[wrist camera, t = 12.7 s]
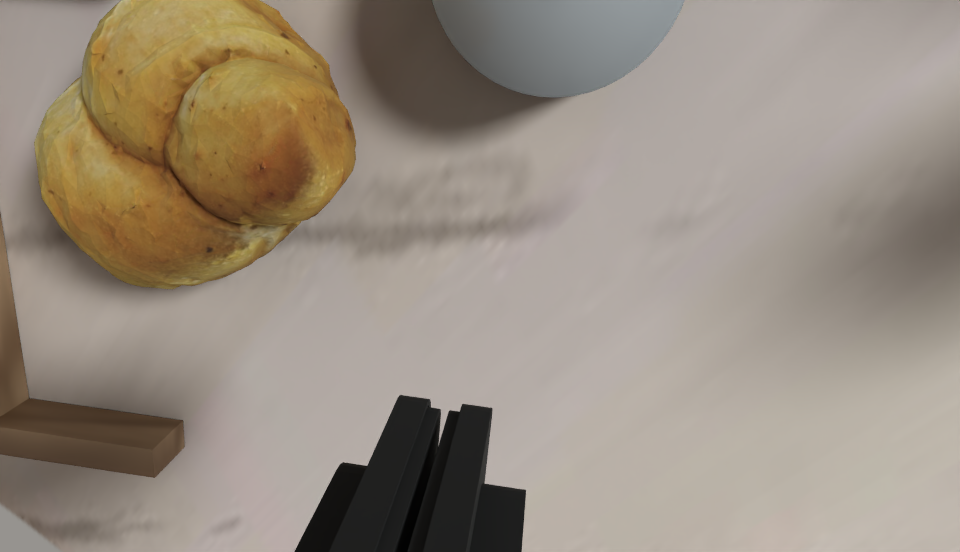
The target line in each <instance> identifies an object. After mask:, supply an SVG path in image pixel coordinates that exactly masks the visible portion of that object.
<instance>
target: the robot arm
mask: <svg viewBox="0 0 960 552" xmlns="http://www.w3.org/2000/svg"><path fill="white" fill-rule="evenodd" d="M440 417H441V410H440V409H436V408H431V402H430V399H424V398H417V397H410V396H403V395H400V396H399V397H398V399H397V401H396V403H395V405H394V408H393V410H392V412H391V414H390V417H389V419H388V421H387V423H386V426H385V428H384V430H383V432H382V435H381V437H380V439H379V441H378V443H377V446H376V448H375V450H374V452H373V455H372V457H371V459H370V461H369V464H368V466H363V465H357V464H350V463H344V462H343V463H342V464H340V465H339V467H338V469H337V470H336V472H335V474H334V476H333V478H332V480H331V482H330V484H329V486H328V488H327V489H326V491H325V493H324V495H323V497H322V499H321V501H320V503H319V505H318V507H317V509H316V511H315V513H314V515H313V517H312V519H311V521H310V523H309V524H308V526H307V528H306V530H305V532H304V534H303V536H302V538H301V540H300V542H299V544H298V546H297V548H296V550H295V552H521V550H522V537H523V524H524V510H525V497H526V490H522V489H515V488H509V487H502V486H495V485H489V484H484V482H485V473H486V464H487V455H488V446H489V437H490V428H491V419H492V408H488V407H481V406H474V405H467V404H462V407H461V410H460V412H457V411H449V413H448V416H447V420H446V423H445V426H444V430H443V433H442V436H441V440H440V443H439V431H440ZM438 444H439V447H438Z"/></svg>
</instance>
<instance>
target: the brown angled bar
mask: <svg viewBox="0 0 960 552" xmlns="http://www.w3.org/2000/svg"><path fill="white" fill-rule="evenodd" d="M184 447H185V445H184V430H183V421H182V420H175V419H169V418H162V417H155V416H148V415H141V414H134V413H127V412H120V411H113V410H106V409H99V408H92V407H86V406H79V405H72V404H65V403H58V402H51V401H44V400H37V399H30V398H29V395H28V388H27V382H26V375H25V369H24V362H23V356H22V350H21V343H20V337H19V330H18V324H17V317H16V311H15V304H14V298H13V292H12V285H11V279H10V272H9V266H8V259H7V253H6V246H5V240H4V234H3V227H2V221H1V214H0V454H2V455H8V456H15V457H22V458H28V459H35V460H41V461H48V462H54V463H61V464H68V465H74V466H81V467H87V468H94V469H101V470H107V471H114V472H120V473H127V474H133V475H140V476H147V477H153V478H155V477H156V476H157V475H158V474H159V473H160V472H161V471H162V470H163V469H164V468H165V467H166V466H167V465H168V464H169V463H170V461H171V460H172V459H173V458H174V457H175V456H176V455H177V454H178V453H179V452H180V451H181V450H182V449H183V448H184Z"/></svg>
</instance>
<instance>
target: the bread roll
mask: <svg viewBox="0 0 960 552" xmlns="http://www.w3.org/2000/svg"><path fill="white" fill-rule="evenodd" d="M34 145H35V154H36V161H37V169H38V178H39V185H40V189H41V195H42V199H43V201H44V202H45V203H46V205H47V206H48V208H49V210H50V211H51V213H52V214H53V216H54V218H55V219H56V221H57V223H58V224H59V226H60V227H61V228H62V229H63V231H64V232H66V234H67V235H68V236H69V237H70V238H71V239H72V240H73V241H74V242H75V243H76V244H77V245H78V247H79V248H80V249H81V250H82V251H84V252H85V253H86V254H87V255H89V256H90V257H91V258H92V259H93V260H94V261H96V262H97V263H98V264H99V265H101V266H102V267H103V268H104V269H106V270H107V271H109V272H110V273H111V274H112V275H113V276H115V277H116V278H118V279H120V280H122V281H123V282H126V283H129V284H132V285H136V286H141V287H152V288H163V289H174V288H177V287H179V286H181V285H187V286H193V285H198V284H201V283H204V282H207V281H212V280H217V279H220V278H223V277H226V276H228V275H230V274H232V273H234V272H236V271H238V270H241V269H243V268H245V267H247V266H249V265H250V264H252V263H253V262H254V261H255V260H257V259H258V258H260V257H262V256H265V255H266V254H267V253H269V252H270V251H271V250H272V249H273V248H274V247H275V246H276V245H277V244H278V243H279V242H281V241H282V240H283V239H284V238H285V237H286V236H287V235H288V234H289V233H290V232H291V231H293V230H294V229H295V228H296V227H297V226H298V225H299V224H300V223H301V221H303V220H308V219H310V218H311V217H313V216H315V215H317V214H318V213H319V212H320V211H321V210H322V209H323V208H324V207H325V206H326V205H327V204H328V203H329V202H330V200H331V199H332V198H333V197H334V195H335V194H336V193H337V191H338V190H339V189H340V188H341V186H342V185H343V184H344V183H345V181H346V180H347V178H348V177H349V175H350V174H351V172H352V171H353V168H354V164H355V160H356V155H355V146H356V140H355V135H354V129H353V126H352V122H351V119H350V116H349V113H348V110H347V109H346V108H345V106H344V105H343V104H342V102H341V101H340V99H339V96H338V92H337V90H336V88H335V85H334V83H333V81H332V78H331V76H330V70H329V64H328V63H327V62H326V61H325V59H324V58H323V57H322V56H321V55H320V54H319V53H317V52H316V51H315V50H313V49H312V48H311V47H310V46H309V45H308V44H307V43H306V42H305V41H304V40H303V39H302V38H301V37H300V36H299V35H298V34H297V33H296V32H295V31H294V30H293V29H292V28H291V27H290V25H289V24H288V22H286V21H285V20H284V19H283V17H282V16H281V15H280V13H279V11H277V10H276V9H274V8H272V7H270V6H269V5H267V4H265V3H263V2H262V1H260V0H122V1H120V2H119V3H118V4H117V5H115V6H114V7H113V8H112V9H111V10H110V11H109V12H108V13H107V14H106V15H105V16H104V17H103V18H102V19H101V20H100V22H99V24H98V26H97V28H96V30H95V31H94V32H93V34H92V36H91V39H90V41H89V44H88V46H87V49H86V51H85V55H84V59H83V67H82V76H81V77H80V78H78V79H77V80H75V81H74V82H73V83H72V84H71V85H70V86H69V87H68V88H67V89H66V90H65V91H64V93H63V94H61V95H60V96H59V97H58V98H57V99H56V100H55V102H54V103H53V104H52V105H51V106H50V108H49V109H48V110H47V112H46V114H45V116H44V119H43V121H42V124H41V126H40V128H39V131H38V133H37V136H36V139H35V142H34Z"/></svg>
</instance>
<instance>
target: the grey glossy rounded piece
mask: <svg viewBox="0 0 960 552" xmlns="http://www.w3.org/2000/svg"><path fill="white" fill-rule="evenodd" d="M432 3H433V6H434V8H435V11H436V14H437V17H438V19H439V21H440V23H441V25H442V27H443V29H444V31H445V33H446V35H447V36H448V38H449V39H450V41H451V42H452V44H453V45H454V47H455V48H456V49H457V51H458V52H459V53H460V54H461V55H462V56H463V57H464V59H465V60H466V61H467V62H468V63H469V64H471V65H472V66H473V67H474V68H475V69H476V70H477V71H479V72H480V73H481V74H483V75H484V76H486V77H487V78H489V79H490V80H492V81H493V82H495V83H497V84H499V85H501V86H503V87H505V88H508V89H510V90H513V91H516V92H519V93H523V94H527V95H532V96H538V97H555V98H557V97H568V96H575V95H580V94H584V93H588V92H592V91H594V90H597V89H600V88H602V87H605V86H607V85H609V84H611V83H613V82H615V81H617V80H618V79H620V78H622V77H623V76H625V75H626V74H628V73H629V72H631V71H632V70H633V69H635V68H636V67H637V66H638V65H640V64H641V63H642V62H643V61H644V60H645V59H646V58H647V57H648V56H650V54H651V53H652V52H653V51H654V50H655V49H656V48H657V46H658V45H659V44H660V43H661V42H662V40H663V39H664V37H665V36H666V35H667V33H668V32H669V30H670V29H671V27H672V26H673V24H674V22H675V20H676V18H677V16H678V14H679V12H680V10H681V8H682V6H683V3H684V0H432Z"/></svg>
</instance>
